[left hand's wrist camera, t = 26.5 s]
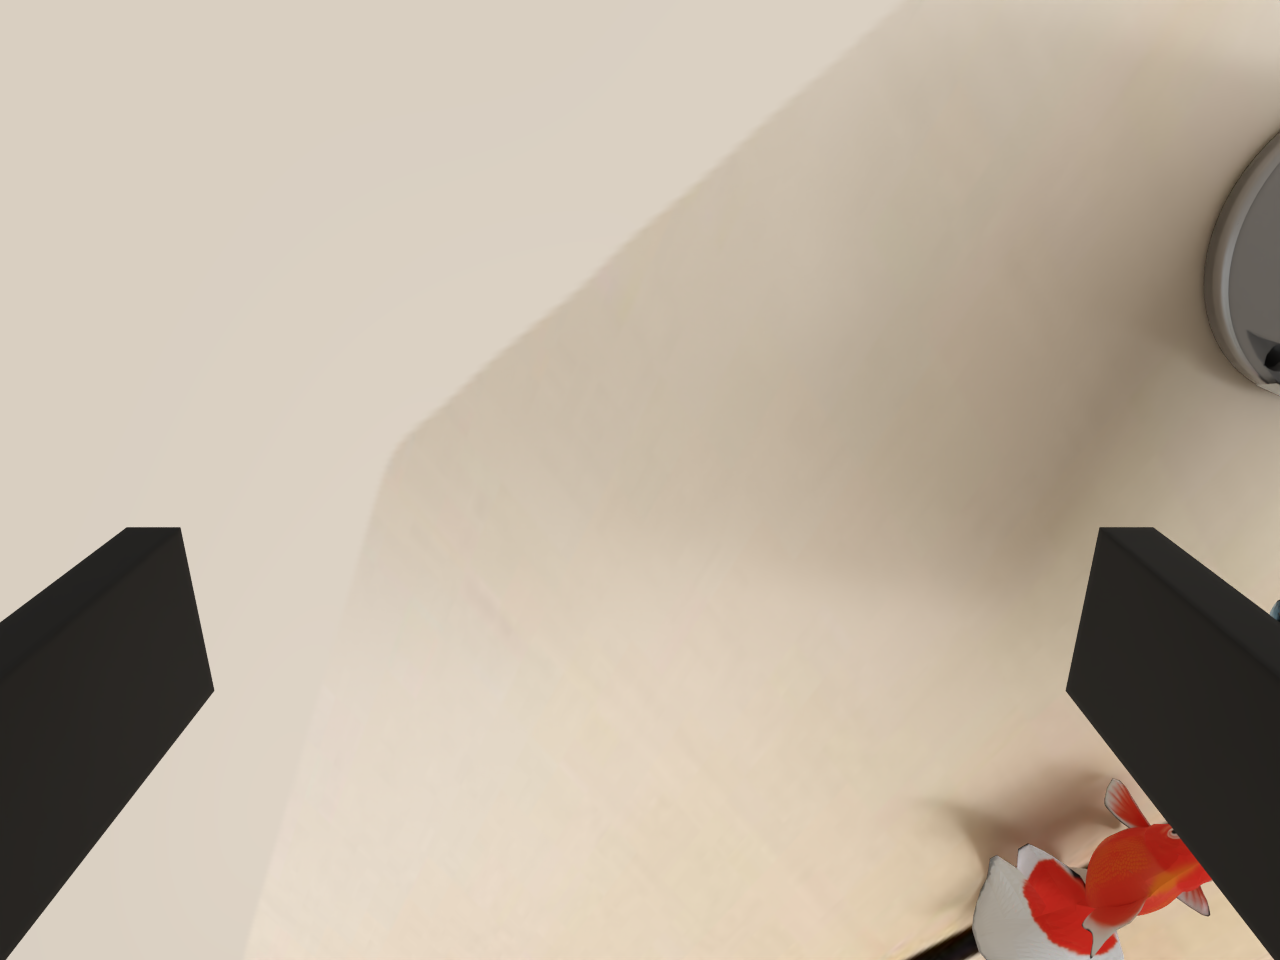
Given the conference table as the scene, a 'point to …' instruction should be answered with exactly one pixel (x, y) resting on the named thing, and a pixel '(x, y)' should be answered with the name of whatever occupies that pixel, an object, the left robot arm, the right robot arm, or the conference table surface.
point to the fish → (1085, 892)
